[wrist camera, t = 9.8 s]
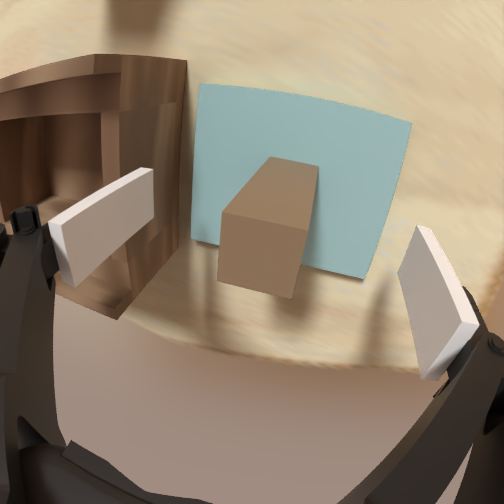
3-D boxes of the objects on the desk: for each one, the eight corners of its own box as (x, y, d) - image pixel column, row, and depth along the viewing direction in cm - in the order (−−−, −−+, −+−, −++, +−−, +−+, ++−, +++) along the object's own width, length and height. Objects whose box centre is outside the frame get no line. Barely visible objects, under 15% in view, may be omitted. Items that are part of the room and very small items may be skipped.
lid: (196, 231, 23) (125, 317, 15) (206, 83, 17) (105, 89, 9) (363, 270, 22) (371, 382, 13) (407, 121, 16) (480, 155, 7)
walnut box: (54, 215, 26) (-9, 260, 19) (44, 76, 19) (-37, 94, 11) (178, 247, 24) (117, 320, 17) (186, 60, 16) (94, 54, 9)
